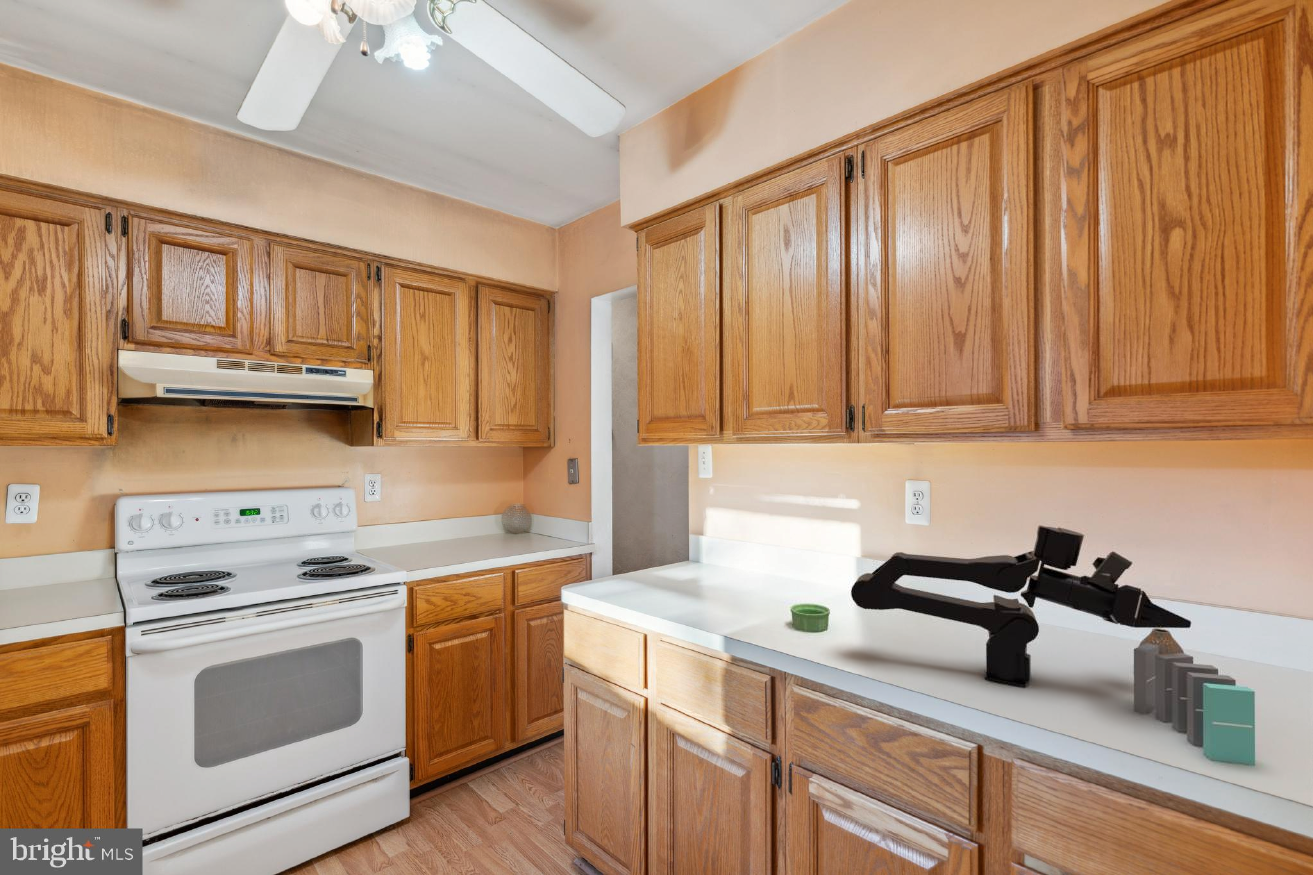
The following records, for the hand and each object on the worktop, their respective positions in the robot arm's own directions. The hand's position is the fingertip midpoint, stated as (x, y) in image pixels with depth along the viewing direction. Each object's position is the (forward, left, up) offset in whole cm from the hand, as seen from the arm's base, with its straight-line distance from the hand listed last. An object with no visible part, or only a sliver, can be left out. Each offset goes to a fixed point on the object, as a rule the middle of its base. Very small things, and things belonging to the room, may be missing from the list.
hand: (1183, 623), depth 98 cm
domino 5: (+3, -16, -14) cm, 22 cm away
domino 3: (0, -9, -14) cm, 16 cm away
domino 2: (-2, -5, -14) cm, 15 cm away
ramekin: (-66, +6, -14) cm, 68 cm away
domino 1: (-5, -3, -14) cm, 15 cm away
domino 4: (+2, -12, -14) cm, 19 cm away
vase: (-2, +14, -14) cm, 20 cm away
